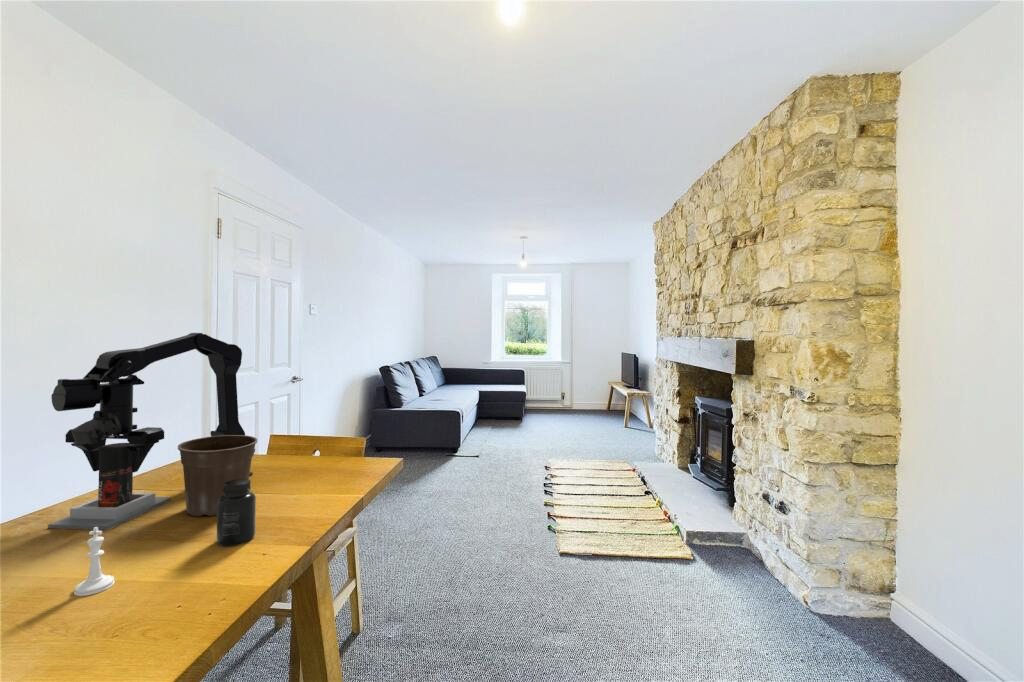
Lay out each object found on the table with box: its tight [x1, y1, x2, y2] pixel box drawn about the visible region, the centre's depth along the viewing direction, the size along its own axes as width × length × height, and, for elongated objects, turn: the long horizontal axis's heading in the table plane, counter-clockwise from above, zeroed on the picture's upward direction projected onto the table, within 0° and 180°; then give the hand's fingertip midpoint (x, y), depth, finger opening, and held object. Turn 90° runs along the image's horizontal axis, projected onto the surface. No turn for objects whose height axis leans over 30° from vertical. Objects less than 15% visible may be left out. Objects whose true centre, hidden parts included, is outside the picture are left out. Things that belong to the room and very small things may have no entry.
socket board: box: [47, 491, 172, 531], centre depth 101 cm, size 13×17×3 cm
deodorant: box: [97, 442, 134, 507], centre depth 102 cm, size 6×6×15 cm
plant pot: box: [177, 434, 258, 517], centre depth 106 cm, size 16×16×16 cm
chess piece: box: [73, 527, 115, 597], centre depth 72 cm, size 5×5×10 cm
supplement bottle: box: [216, 478, 257, 547], centre depth 90 cm, size 7×7×12 cm
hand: (115, 471), depth 101 cm, fingers open, 9 cm apart
